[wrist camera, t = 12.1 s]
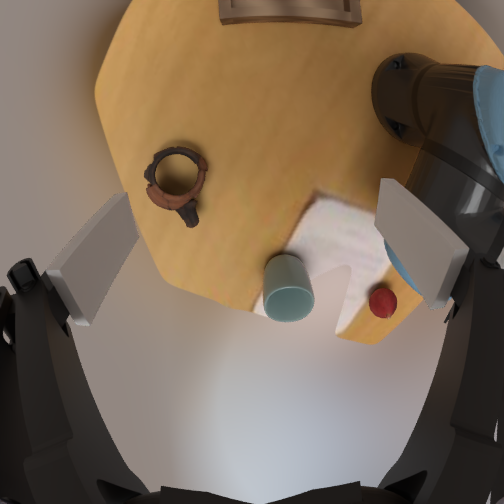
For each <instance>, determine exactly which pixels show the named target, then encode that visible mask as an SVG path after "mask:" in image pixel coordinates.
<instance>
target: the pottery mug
mask: <svg viewBox="0 0 504 504" xmlns="http://www.w3.org/2000/svg"><path fill="white" fill-rule="evenodd" d="M172 154H181V155H185V156H187V157H189V158H190V159H191V160H192V161H193V162H194V163H195V164H197V166H198V169H199V172H198V177H197V181H196V184H195V185H194V187H193V188H192V189H191V190H190V191H188V192H187V193H185V194H182V195H171V194H168V193H166V192H164V191H163V190H162V189H161V188H160V187H159V185H158V184H157V182H156V179H155V171H156V168H157V165H158V163H159V162H160V161H161V160H162V159H163V158H165V157H166V156H169V155H172ZM205 171H208V168H207V165H206V163H205V161H204V160H203V158H201V156H200V155H199V154H198V153H196V152H195V151H193V150H191V149H188V148H185V147H176V148H175V147H170V148H167V149H164V150H162V151H160V152H157V153H156V154H154V161H153V163H152V164H150V165H149V166H148V167H147V169H146V170H145V172H144V178H146V179H147V181H149V182H150V183H151V184H148V185H147V186H148V188H146V191H147V194H148V196H149V198H150V199H151V200H152V202H153V203H155V204H156V205H157V206H159V207H161V208H164V209H167V210H176V211H177V212H178V214H179V215H180V216H181V218H182V219H183V220H184V221H185V223H186V226H187V227H189V228H193V227H195V226H197V225H198V223H199V218H198V215H197V212H196V209H195V205H196V203H197V201H196V200H194V199H191V198H192V197H194V198H196V197H197V196H198V194H199V193H200V191H201V189H202V187H203V184H204V181H205V174H206V173H205ZM190 199H191V200H190Z"/></svg>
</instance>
